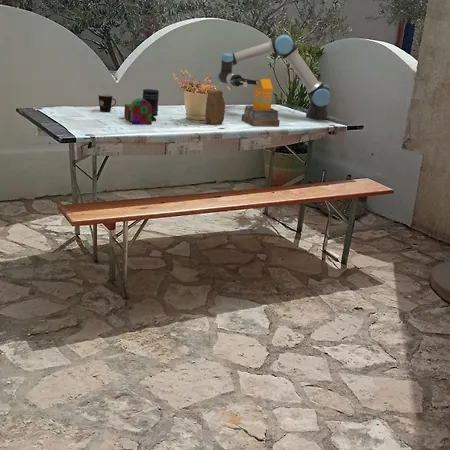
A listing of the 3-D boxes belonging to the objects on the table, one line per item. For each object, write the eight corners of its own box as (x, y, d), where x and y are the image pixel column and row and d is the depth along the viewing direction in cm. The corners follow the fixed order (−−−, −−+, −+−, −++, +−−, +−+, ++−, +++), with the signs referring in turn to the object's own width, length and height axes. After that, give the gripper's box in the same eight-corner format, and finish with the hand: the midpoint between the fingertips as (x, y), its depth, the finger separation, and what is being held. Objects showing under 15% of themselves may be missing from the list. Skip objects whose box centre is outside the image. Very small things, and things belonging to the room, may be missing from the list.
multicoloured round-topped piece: (160, 125, 348) (162, 100, 343) (132, 124, 342) (133, 99, 337) (149, 116, 370) (150, 93, 365) (122, 116, 363) (122, 92, 358)
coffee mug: (95, 110, 372) (95, 94, 368) (108, 109, 377) (108, 93, 373) (104, 113, 363) (104, 97, 360) (116, 113, 368) (117, 97, 365)
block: (208, 124, 360) (211, 91, 353) (203, 122, 367) (206, 89, 360) (224, 124, 365) (227, 91, 358) (219, 122, 371) (222, 89, 364)
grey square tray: (241, 120, 384) (243, 105, 381) (266, 120, 391) (268, 106, 387) (252, 126, 369) (254, 110, 365) (278, 126, 375) (280, 111, 372)
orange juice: (270, 111, 377) (274, 79, 370) (260, 112, 371) (264, 79, 364) (261, 109, 382) (265, 77, 375) (252, 109, 377) (255, 77, 370)
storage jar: (138, 113, 373) (139, 89, 368) (149, 112, 380) (150, 88, 375) (150, 116, 368) (151, 92, 362) (161, 115, 375) (162, 91, 370)
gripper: (248, 85, 403) (269, 90, 388) (219, 85, 389) (239, 91, 373) (249, 73, 401) (270, 78, 385) (219, 74, 386) (240, 78, 371)
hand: (255, 84), depth 379 cm, fingers open, 13 cm apart
